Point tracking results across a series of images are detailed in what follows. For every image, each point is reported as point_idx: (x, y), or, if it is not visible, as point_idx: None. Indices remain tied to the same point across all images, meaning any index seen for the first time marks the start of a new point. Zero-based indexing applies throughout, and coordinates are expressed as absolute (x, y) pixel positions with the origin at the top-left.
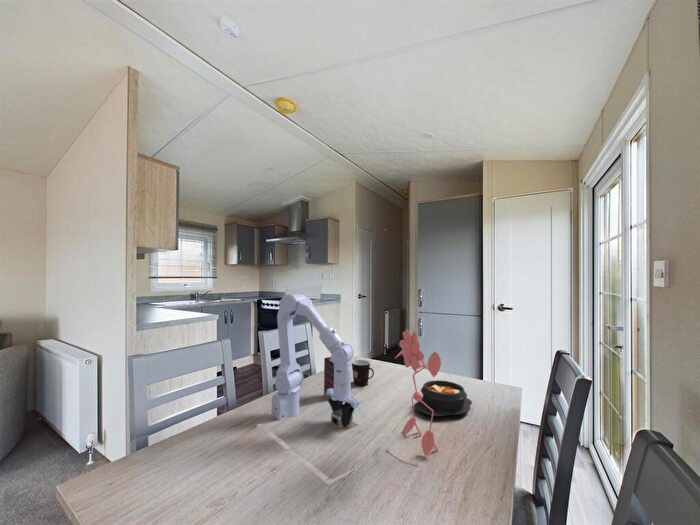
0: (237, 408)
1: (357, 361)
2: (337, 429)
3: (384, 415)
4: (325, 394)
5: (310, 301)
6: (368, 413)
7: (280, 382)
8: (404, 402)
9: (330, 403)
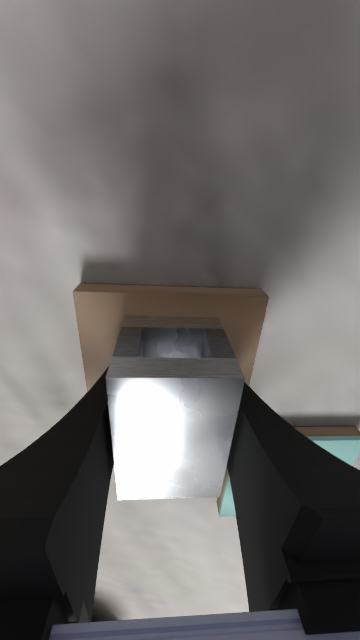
0: None
1: None
2: (130, 307)
3: (122, 534)
4: None
5: None
6: (184, 510)
7: None
8: (153, 602)
9: (329, 476)
